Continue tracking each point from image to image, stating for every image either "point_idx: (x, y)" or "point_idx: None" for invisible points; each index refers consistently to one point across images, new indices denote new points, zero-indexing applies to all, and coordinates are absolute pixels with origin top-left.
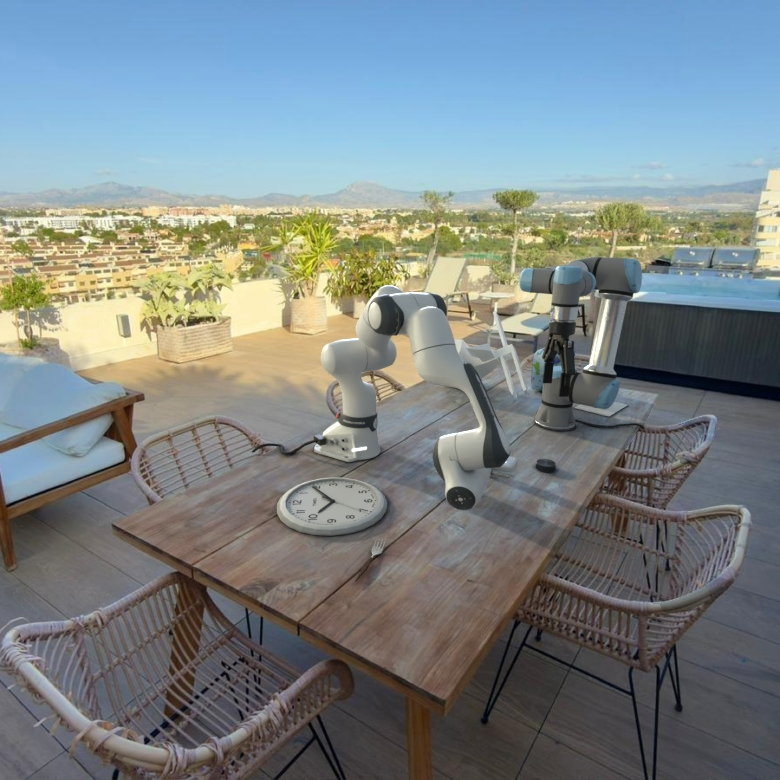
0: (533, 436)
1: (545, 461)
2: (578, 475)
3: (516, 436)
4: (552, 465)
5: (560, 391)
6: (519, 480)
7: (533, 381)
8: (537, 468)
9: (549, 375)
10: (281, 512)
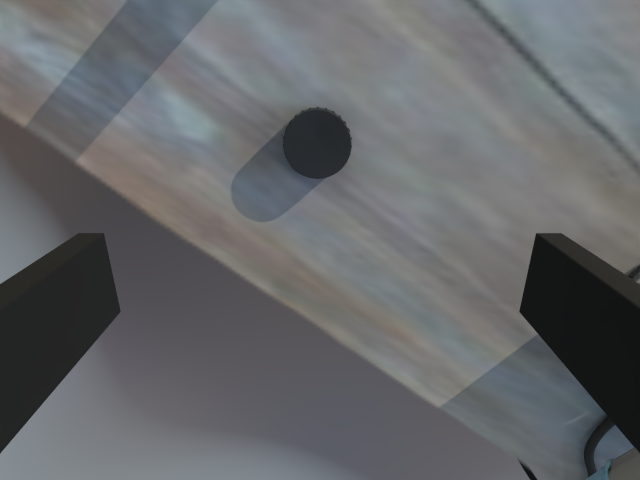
0: (595, 195)
1: (326, 146)
2: (266, 230)
3: (615, 127)
4: (293, 159)
5: (46, 260)
6: (222, 5)
7: None
8: (309, 108)
9: (574, 334)
10: None
